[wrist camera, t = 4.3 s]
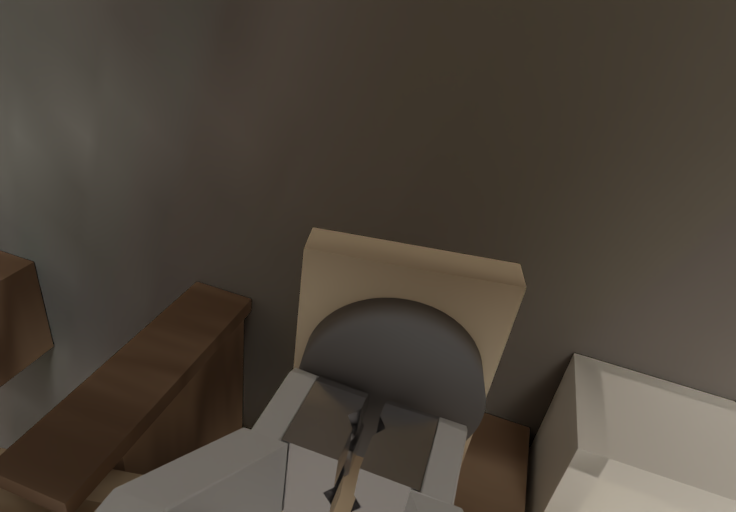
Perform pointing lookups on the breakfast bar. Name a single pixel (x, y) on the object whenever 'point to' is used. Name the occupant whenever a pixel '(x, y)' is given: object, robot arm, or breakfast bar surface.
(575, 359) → the dish
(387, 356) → the lever
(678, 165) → the breakfast bar surface
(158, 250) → the breakfast bar surface
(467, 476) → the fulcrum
